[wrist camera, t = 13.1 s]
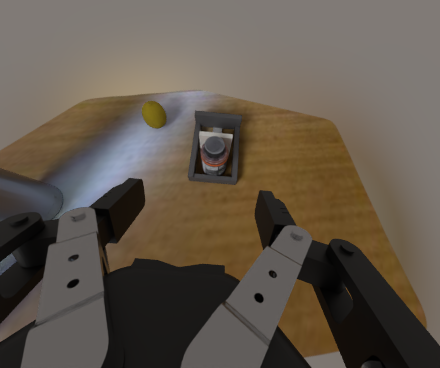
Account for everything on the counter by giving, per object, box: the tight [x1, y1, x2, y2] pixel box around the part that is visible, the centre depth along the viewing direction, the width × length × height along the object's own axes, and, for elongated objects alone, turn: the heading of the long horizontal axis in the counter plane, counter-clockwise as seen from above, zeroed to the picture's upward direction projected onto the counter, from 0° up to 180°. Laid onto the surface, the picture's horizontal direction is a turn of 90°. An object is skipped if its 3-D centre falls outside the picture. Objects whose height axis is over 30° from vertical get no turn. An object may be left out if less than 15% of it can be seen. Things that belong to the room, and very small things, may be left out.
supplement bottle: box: [201, 136, 229, 176], centre depth 38 cm, size 6×6×11 cm
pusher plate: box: [199, 127, 233, 157], centre depth 42 cm, size 7×11×9 cm, turn 175°
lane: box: [188, 111, 242, 185], centre depth 42 cm, size 11×16×6 cm
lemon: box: [142, 101, 167, 128], centre depth 43 cm, size 6×6×8 cm
